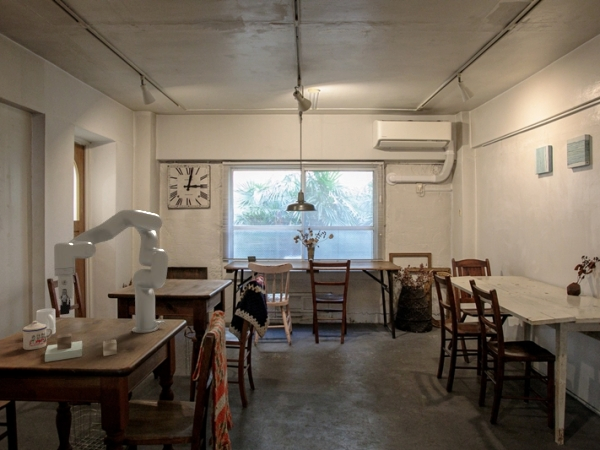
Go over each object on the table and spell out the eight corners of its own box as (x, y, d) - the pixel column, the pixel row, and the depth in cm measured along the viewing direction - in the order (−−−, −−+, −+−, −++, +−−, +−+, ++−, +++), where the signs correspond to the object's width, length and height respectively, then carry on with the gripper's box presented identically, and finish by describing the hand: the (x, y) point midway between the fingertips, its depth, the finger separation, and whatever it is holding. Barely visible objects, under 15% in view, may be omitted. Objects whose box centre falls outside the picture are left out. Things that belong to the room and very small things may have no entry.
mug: (43, 338, 187) (42, 314, 187) (33, 334, 194) (33, 310, 194) (61, 334, 193) (61, 310, 193) (51, 330, 200) (51, 307, 200)
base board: (82, 347, 173) (82, 340, 173) (81, 356, 162) (81, 349, 162) (47, 352, 167) (47, 345, 167) (44, 361, 156) (44, 354, 156)
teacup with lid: (29, 351, 168) (28, 325, 168) (18, 348, 173) (18, 322, 173) (57, 343, 179) (57, 318, 179) (47, 340, 183) (46, 316, 183)
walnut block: (71, 344, 168) (71, 333, 168) (71, 348, 164) (71, 336, 164) (58, 346, 166) (57, 334, 166) (57, 350, 161) (57, 338, 161)
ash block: (116, 350, 169) (115, 339, 169) (116, 354, 165) (116, 342, 165) (103, 352, 167) (103, 341, 167) (103, 356, 162) (103, 344, 162)
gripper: (74, 273, 158) (75, 315, 159) (75, 268, 174) (76, 306, 174) (52, 274, 155) (53, 317, 155) (56, 270, 170) (56, 308, 170)
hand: (65, 311), depth 164 cm, fingers open, 9 cm apart
